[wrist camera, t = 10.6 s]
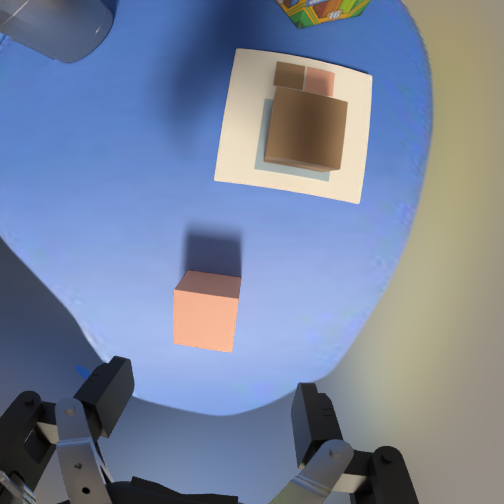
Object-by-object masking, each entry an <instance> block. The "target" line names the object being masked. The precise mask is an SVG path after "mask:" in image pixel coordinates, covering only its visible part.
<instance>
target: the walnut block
mask: <svg viewBox="0 0 504 504" xmlns="http://www.w3.org/2000/svg"><path fill="white" fill-rule="evenodd" d="M347 106H348V102H346V101H342V100H339V99H335V98H331V97H327V96H323V95H318V94H314V93H309V92H304V91H299V90H294V89H289V88H283V87H276V91H275V95H274V100H273V104H272V109H271V116H270V123H269V129H268V136H267V143H266V149H265V156H264V162H266V163H273V164H279V165H285V166H291V167H296V168H302V169H307V170H312V171H317V172H328V171H334V170H340V167H341V160H342V152H343V144H344V135H345V126H346V117H347Z"/></svg>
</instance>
